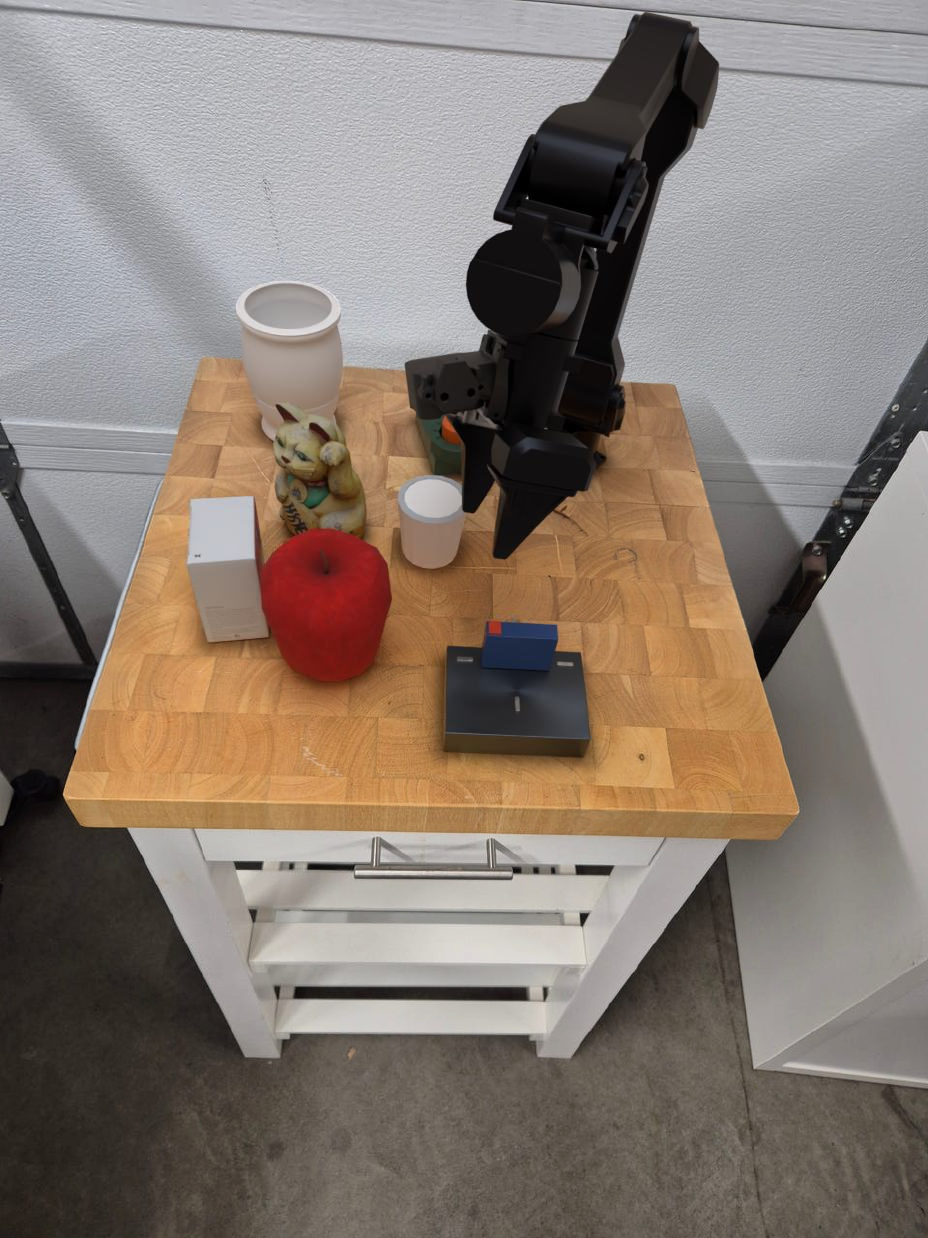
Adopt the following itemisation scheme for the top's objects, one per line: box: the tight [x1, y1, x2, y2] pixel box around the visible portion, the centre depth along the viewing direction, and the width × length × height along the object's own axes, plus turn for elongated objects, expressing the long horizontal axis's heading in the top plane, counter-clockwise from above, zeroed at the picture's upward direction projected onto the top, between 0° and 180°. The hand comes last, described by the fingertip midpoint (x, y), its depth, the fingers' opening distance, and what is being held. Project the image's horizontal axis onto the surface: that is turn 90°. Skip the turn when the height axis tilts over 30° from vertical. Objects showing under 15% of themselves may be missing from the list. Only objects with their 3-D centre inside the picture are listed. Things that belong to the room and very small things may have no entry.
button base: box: [415, 415, 462, 476], centre depth 92 cm, size 11×8×4 cm
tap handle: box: [481, 620, 559, 671], centre depth 69 cm, size 6×2×5 cm, turn 90°
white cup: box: [397, 474, 467, 570], centre depth 80 cm, size 7×7×7 cm
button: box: [442, 414, 461, 445], centre depth 89 cm, size 4×4×2 cm
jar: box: [235, 280, 344, 442], centre depth 88 cm, size 11×10×15 cm
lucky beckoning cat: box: [272, 402, 367, 539], centre depth 78 cm, size 10×8×15 cm
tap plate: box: [442, 615, 592, 758], centre depth 72 cm, size 12×13×3 cm
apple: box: [260, 528, 393, 682], centre depth 68 cm, size 10×10×14 cm
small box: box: [185, 495, 270, 643], centre depth 72 cm, size 8×6×10 cm
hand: (482, 533), depth 64 cm, fingers open, 9 cm apart
